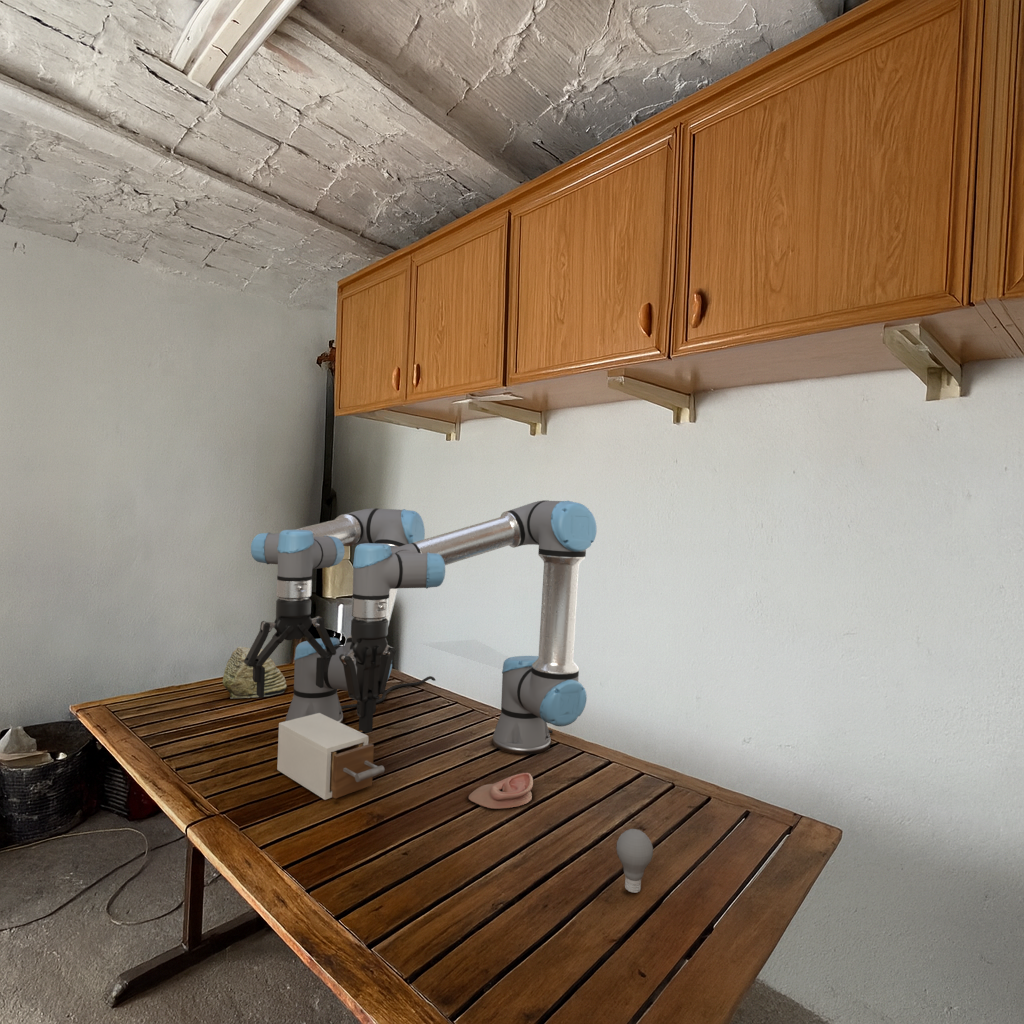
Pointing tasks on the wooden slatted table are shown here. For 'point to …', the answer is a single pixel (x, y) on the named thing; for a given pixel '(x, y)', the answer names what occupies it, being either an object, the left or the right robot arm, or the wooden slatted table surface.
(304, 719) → the cabinet
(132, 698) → the wooden slatted table surface
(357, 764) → the drawer
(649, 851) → the light bulb
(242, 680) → the fossil
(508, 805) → the anatomical model
